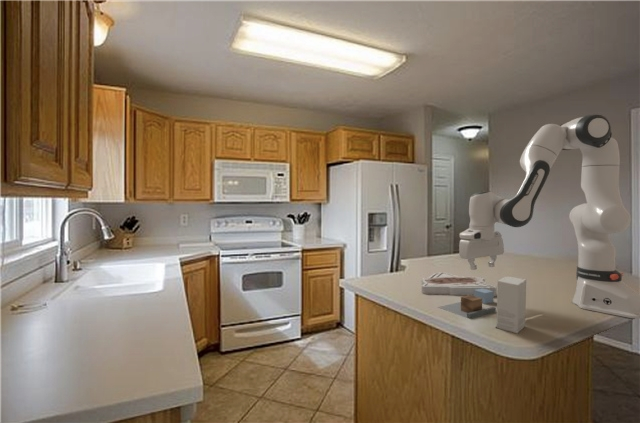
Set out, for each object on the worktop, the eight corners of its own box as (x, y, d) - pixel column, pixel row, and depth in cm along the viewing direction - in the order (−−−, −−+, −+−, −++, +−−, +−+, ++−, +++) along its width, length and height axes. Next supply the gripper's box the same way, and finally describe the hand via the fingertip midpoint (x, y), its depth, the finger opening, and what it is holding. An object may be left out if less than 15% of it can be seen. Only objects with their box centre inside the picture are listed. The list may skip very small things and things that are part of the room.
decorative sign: (499, 298, 143) (474, 280, 172) (499, 288, 142) (474, 272, 172) (422, 296, 146) (410, 279, 176) (422, 287, 146) (410, 271, 175)
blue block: (493, 303, 134) (493, 291, 134) (485, 305, 132) (485, 293, 131) (482, 300, 138) (482, 288, 138) (473, 302, 136) (474, 290, 136)
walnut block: (482, 312, 122) (482, 298, 122) (472, 314, 120) (472, 300, 120) (470, 308, 127) (470, 295, 127) (460, 310, 125) (460, 296, 124)
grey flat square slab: (495, 313, 123) (495, 307, 123) (469, 320, 116) (469, 314, 116) (463, 302, 135) (463, 297, 135) (437, 308, 129) (437, 303, 129)
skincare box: (505, 321, 115) (505, 275, 114) (527, 326, 110) (527, 279, 109) (495, 328, 109) (496, 280, 108) (518, 334, 104) (519, 283, 104)
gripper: (494, 230, 140) (494, 263, 141) (455, 234, 132) (456, 269, 133) (507, 231, 134) (508, 266, 135) (468, 235, 126) (469, 272, 127)
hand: (482, 268), depth 134 cm, fingers open, 8 cm apart
